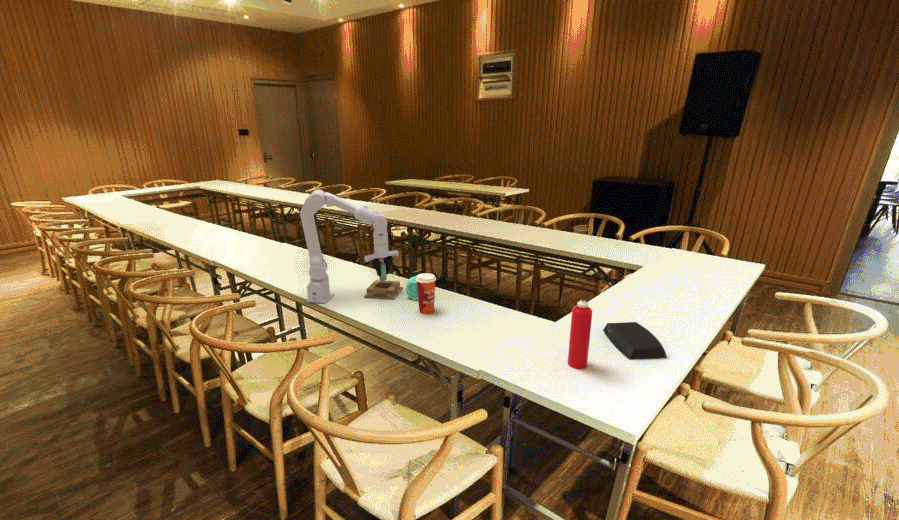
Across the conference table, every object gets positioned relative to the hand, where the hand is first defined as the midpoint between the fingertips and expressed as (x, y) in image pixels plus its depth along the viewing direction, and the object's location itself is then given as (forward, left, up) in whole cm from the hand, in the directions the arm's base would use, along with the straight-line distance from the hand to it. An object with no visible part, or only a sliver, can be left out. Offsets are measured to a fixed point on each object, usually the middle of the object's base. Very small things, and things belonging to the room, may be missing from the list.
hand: (382, 274), depth 175 cm
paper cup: (-15, -22, -8) cm, 28 cm away
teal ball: (-2, -16, -8) cm, 18 cm away
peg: (0, 0, -2) cm, 2 cm away
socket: (0, 0, -8) cm, 8 cm away
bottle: (-46, -74, -8) cm, 87 cm away
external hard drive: (-30, -93, -9) cm, 98 cm away
